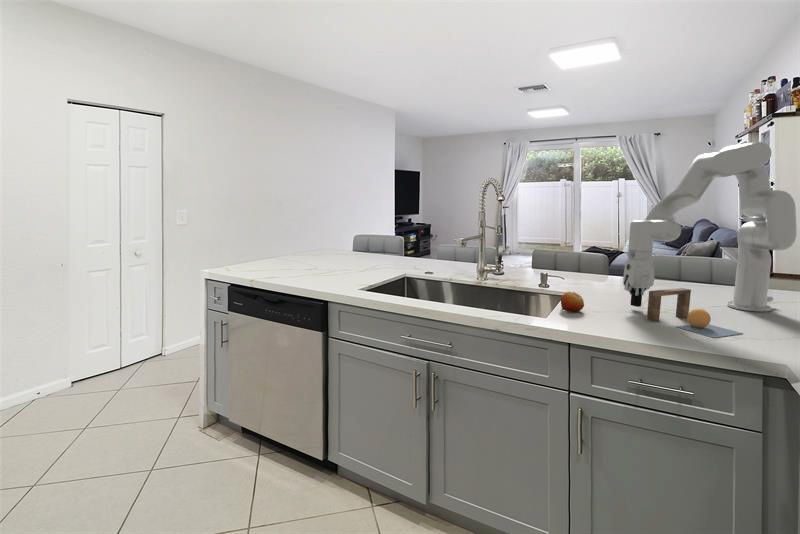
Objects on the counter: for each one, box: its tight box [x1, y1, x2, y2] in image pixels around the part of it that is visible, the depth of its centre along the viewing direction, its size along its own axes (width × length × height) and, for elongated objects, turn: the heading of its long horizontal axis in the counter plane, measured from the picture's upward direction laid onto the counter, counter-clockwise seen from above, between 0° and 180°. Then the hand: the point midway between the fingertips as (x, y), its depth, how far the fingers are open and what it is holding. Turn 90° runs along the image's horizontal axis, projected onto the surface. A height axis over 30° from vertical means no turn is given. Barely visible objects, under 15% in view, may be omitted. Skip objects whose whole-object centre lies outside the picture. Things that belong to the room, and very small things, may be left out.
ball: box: [686, 308, 712, 328], centre depth 138 cm, size 6×6×6 cm
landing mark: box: [675, 323, 744, 339], centre depth 136 cm, size 12×12×1 cm
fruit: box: [559, 291, 585, 314], centre depth 159 cm, size 8×8×8 cm
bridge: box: [646, 287, 692, 323], centre depth 148 cm, size 3×15×10 cm, turn 110°
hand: (635, 305), depth 161 cm, fingers closed
